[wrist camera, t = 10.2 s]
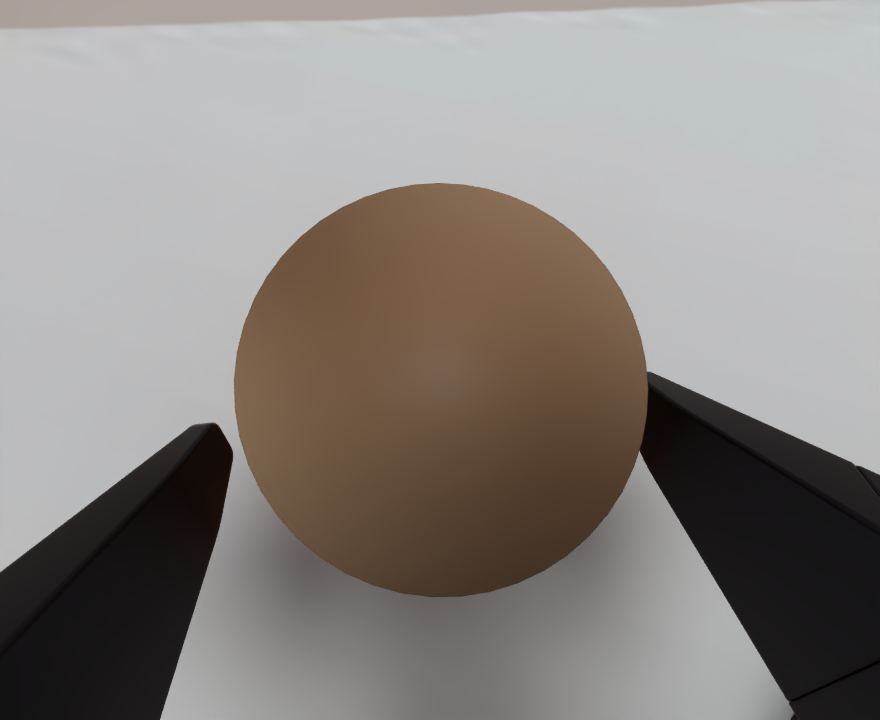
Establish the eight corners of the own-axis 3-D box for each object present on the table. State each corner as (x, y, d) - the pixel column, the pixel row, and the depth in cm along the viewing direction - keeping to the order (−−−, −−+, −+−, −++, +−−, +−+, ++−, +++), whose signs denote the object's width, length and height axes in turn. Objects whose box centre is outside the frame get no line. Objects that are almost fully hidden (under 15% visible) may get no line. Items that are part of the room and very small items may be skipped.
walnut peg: (446, 476, 16) (550, 681, 4) (354, 428, 17) (144, 465, 4) (490, 384, 17) (702, 292, 4) (403, 339, 17) (366, 121, 5)
